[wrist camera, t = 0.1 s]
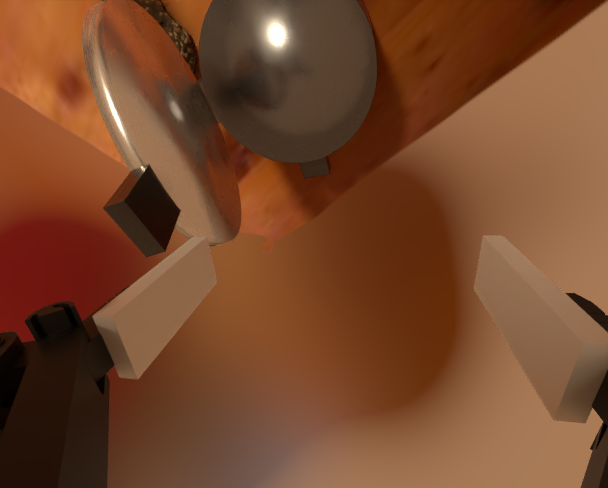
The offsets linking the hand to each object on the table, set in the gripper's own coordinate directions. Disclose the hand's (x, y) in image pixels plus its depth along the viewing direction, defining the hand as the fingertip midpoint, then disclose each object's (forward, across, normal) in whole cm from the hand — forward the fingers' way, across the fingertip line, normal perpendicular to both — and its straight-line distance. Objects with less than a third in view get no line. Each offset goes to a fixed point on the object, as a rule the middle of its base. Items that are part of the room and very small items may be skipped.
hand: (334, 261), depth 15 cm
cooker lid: (+8, -11, +5) cm, 14 cm away
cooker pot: (+26, -5, +12) cm, 29 cm away
